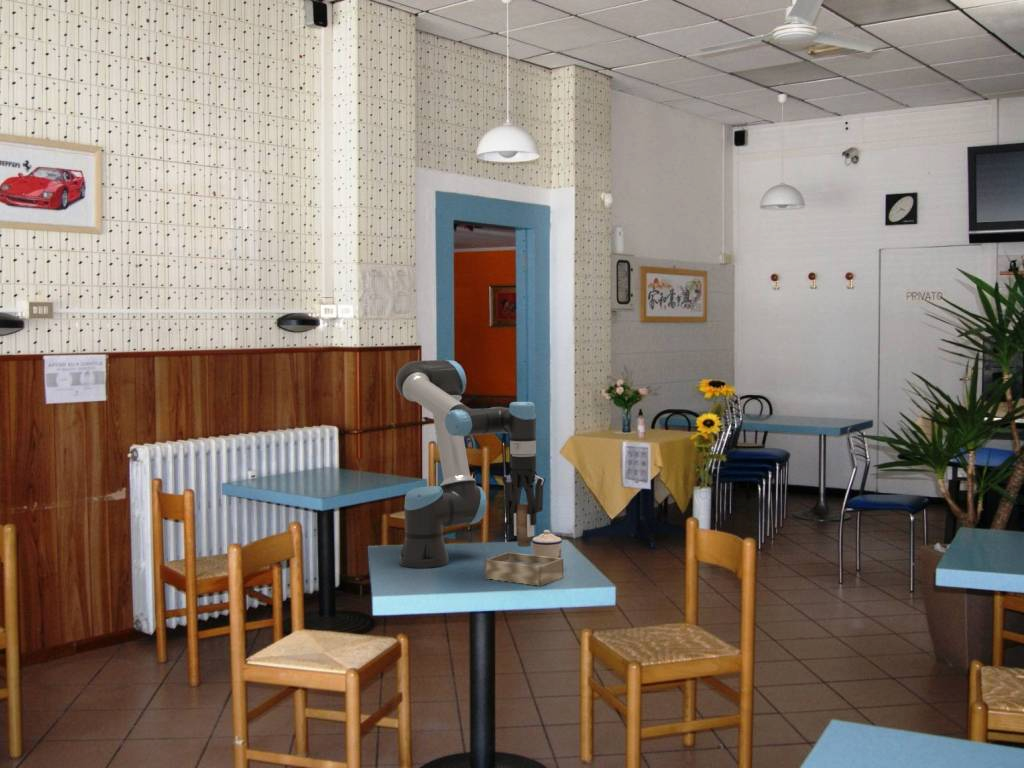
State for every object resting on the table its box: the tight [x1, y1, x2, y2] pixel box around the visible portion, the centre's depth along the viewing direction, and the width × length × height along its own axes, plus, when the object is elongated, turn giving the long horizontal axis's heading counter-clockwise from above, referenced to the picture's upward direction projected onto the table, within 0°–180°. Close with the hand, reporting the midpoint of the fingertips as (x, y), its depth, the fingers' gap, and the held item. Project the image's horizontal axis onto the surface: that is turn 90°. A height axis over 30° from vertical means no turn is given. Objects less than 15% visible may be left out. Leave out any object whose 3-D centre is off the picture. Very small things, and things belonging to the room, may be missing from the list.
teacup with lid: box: [531, 529, 563, 558], centre depth 319 cm, size 12×9×12 cm
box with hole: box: [483, 551, 564, 587], centre depth 306 cm, size 19×13×6 cm
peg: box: [517, 502, 532, 548], centre depth 305 cm, size 4×4×12 cm
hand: (524, 535), depth 305 cm, fingers closed on peg, 4 cm apart
